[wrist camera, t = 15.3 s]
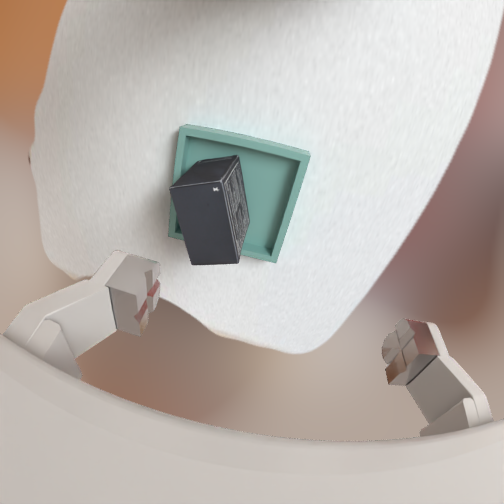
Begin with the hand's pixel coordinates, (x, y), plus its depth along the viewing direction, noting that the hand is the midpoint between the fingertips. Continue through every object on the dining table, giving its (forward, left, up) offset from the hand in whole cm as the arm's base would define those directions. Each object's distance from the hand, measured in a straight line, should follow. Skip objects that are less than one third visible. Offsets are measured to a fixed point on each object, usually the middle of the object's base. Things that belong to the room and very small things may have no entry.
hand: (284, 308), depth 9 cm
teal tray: (+10, -5, -31) cm, 33 cm away
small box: (+10, -6, -31) cm, 33 cm away
